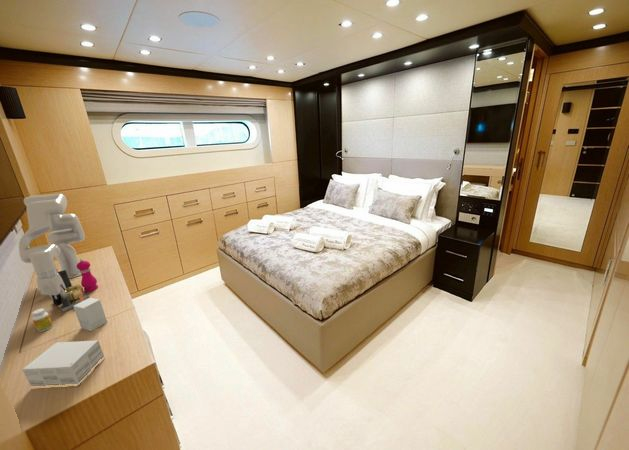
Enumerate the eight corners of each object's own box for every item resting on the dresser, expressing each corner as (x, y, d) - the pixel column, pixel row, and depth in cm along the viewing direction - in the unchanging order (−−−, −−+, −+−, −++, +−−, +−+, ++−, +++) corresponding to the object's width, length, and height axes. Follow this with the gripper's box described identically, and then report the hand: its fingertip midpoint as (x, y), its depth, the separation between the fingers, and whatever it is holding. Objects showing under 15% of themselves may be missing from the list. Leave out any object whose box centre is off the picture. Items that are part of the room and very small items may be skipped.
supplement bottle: (42, 333, 121) (34, 315, 118) (34, 331, 122) (26, 313, 119) (55, 325, 126) (49, 308, 123) (47, 323, 127) (40, 306, 124)
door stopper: (58, 288, 160) (52, 271, 156) (71, 285, 163) (65, 267, 160) (58, 294, 153) (51, 276, 149) (71, 290, 157) (65, 272, 153)
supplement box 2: (107, 321, 127) (100, 299, 123) (91, 332, 121) (83, 308, 117) (97, 319, 130) (90, 297, 126) (80, 328, 123) (72, 305, 119)
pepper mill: (102, 286, 161) (92, 256, 155) (91, 292, 154) (81, 261, 148) (91, 285, 161) (81, 256, 155) (80, 292, 155) (69, 261, 148)
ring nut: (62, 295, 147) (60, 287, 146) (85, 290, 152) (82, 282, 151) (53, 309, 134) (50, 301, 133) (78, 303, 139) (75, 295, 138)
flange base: (54, 302, 145) (50, 293, 143) (81, 292, 154) (78, 283, 153) (62, 312, 136) (59, 302, 134) (91, 300, 145) (88, 291, 144)
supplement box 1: (106, 358, 105) (99, 339, 103) (78, 387, 93) (70, 367, 90) (63, 360, 105) (56, 341, 102) (30, 389, 93) (20, 369, 90)
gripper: (25, 276, 129) (38, 308, 135) (53, 277, 128) (65, 308, 134) (41, 269, 136) (53, 299, 142) (68, 269, 135) (79, 300, 141)
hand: (59, 304), depth 138 cm, fingers closed
